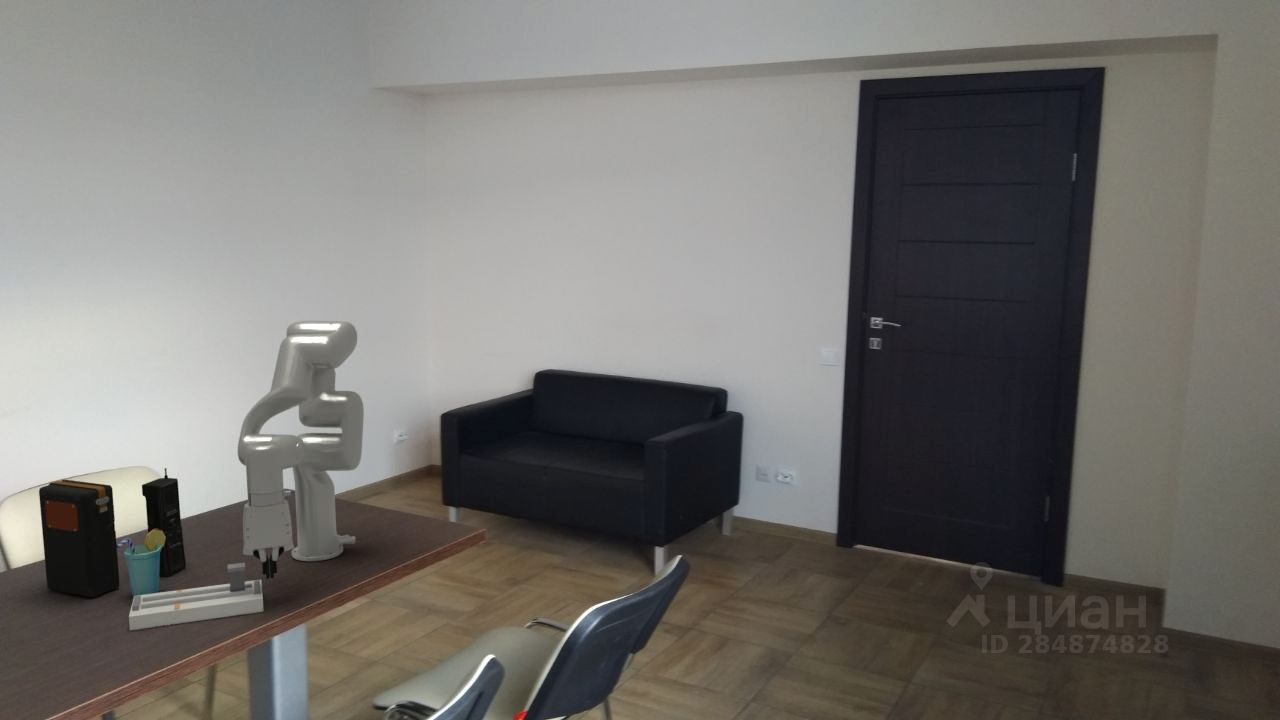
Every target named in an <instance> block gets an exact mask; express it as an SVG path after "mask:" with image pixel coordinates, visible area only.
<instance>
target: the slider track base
mask: <svg viewBox="0 0 1280 720" xmlns="http://www.w3.org/2000/svg"><path fill="white" fill-rule="evenodd" d="M262 583H263V582H262V579H256V580H255V579H254V580H246V581H245V590H242V591H234V592H230V583H225V584H217V585H216V584H215V585H208V586H202V587H194V588H193V587H192V588H186V589H178V590H170V591H162V592H161V591H160V592H158V593H154V594H146V595H138V596H134V597H133V599H132V604H131V608H130V611H129V615H128V622H129V631H135V630H142V629H150V628H157V627H163V625H164V626H171V624H172V625H176V624H177V625H178V624H184V623H185V624H186V623H191V622H199V621H206V620H212V619H219V618H225V617H234V616H240V615H248V614H255V613H256V614H257V613H261V612H264V597H263V595H264V594H263V584H262ZM156 626H157V627H156Z"/></svg>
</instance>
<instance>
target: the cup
mask: <svg viewBox="0 0 1280 720" xmlns="http://www.w3.org/2000/svg"><path fill="white" fill-rule="evenodd" d="M165 540H166V536H165V534H164V533H163V531H162V530H154V529H153V530H152V531H151V532H150V533H148V532H147V533H146V535H145V539H144V543H143V544H138V545H134V542H133V541H132V539H130V538H129V537H125V538H124V539H122V540H121V541H120V542H118V543H116V544H117V545H116V547H117V549H120V548H121V547H123V546H124V545H125V544H126V543H128V548H127V549H126V550H124V553H123V556H124V558H125V560H126V566H127V569H128V570H127V571H128V576H129V582H130V587H131V593H132V597H133V598H134V596H138V595H146V594H154V593H159V592H158V591H160V576H159V568H160V552H161V548H162V547H163V546H164V544H165Z"/></svg>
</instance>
